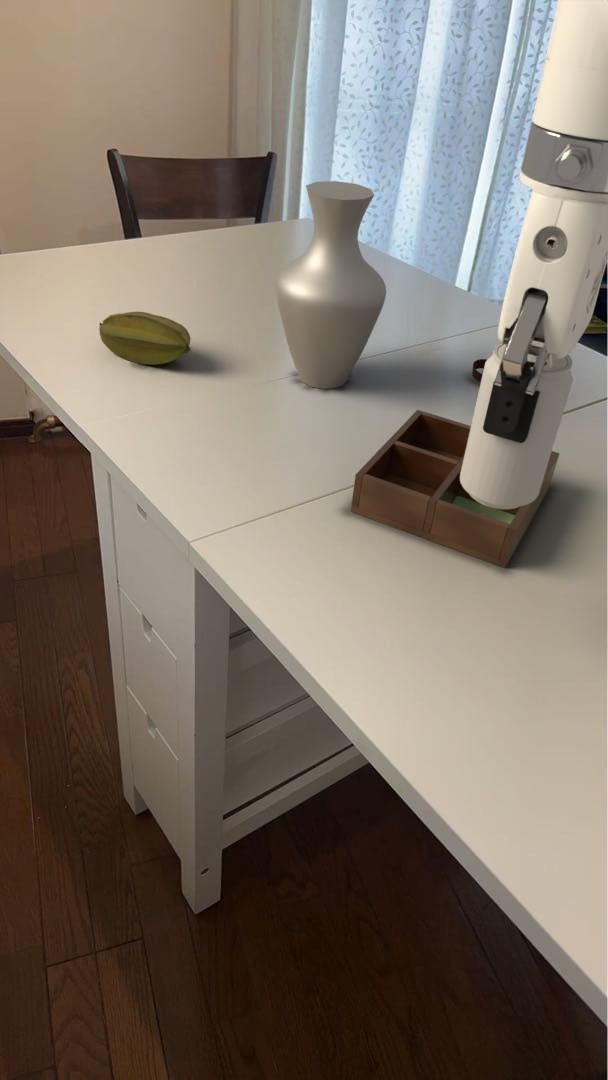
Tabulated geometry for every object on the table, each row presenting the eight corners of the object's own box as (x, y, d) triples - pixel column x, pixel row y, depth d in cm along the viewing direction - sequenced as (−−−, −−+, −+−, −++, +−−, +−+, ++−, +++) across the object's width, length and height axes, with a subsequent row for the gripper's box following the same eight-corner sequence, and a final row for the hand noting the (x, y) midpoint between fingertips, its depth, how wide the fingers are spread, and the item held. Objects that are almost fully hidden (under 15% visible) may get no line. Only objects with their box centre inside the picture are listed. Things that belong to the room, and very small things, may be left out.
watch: (525, 381, 115) (532, 358, 113) (521, 395, 112) (527, 371, 110) (473, 370, 117) (478, 347, 115) (467, 383, 113) (472, 359, 111)
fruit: (177, 339, 118) (176, 295, 114) (193, 375, 109) (193, 329, 105) (98, 344, 115) (94, 299, 111) (109, 382, 106) (104, 335, 102)
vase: (395, 385, 111) (424, 196, 96) (318, 413, 103) (337, 212, 88) (325, 348, 120) (342, 169, 104) (249, 371, 112) (256, 181, 96)
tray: (548, 488, 93) (559, 453, 90) (504, 568, 81) (516, 530, 78) (411, 443, 99) (417, 409, 96) (350, 511, 86) (355, 474, 84)
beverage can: (447, 498, 64) (477, 358, 56) (471, 462, 68) (502, 328, 61) (525, 523, 62) (567, 382, 54) (544, 484, 66) (586, 349, 59)
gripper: (621, 203, 42) (537, 484, 53) (665, 150, 55) (589, 386, 66) (486, 177, 45) (431, 451, 56) (557, 132, 57) (501, 363, 68)
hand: (517, 414), depth 61 cm, fingers closed on beverage can, 6 cm apart
